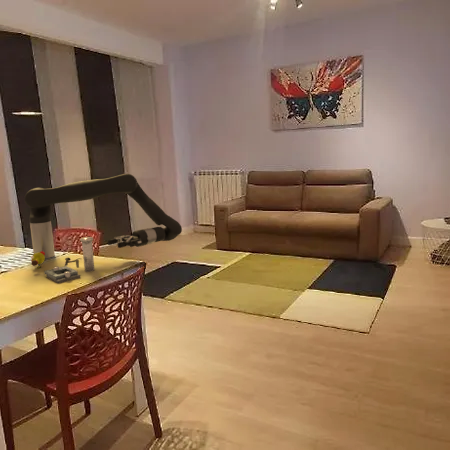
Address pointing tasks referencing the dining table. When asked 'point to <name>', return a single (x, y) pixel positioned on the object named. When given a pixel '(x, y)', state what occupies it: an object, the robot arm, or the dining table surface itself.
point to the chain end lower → (66, 278)
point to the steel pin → (88, 253)
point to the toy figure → (38, 259)
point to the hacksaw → (72, 261)
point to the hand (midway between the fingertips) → (113, 244)
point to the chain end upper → (56, 270)
